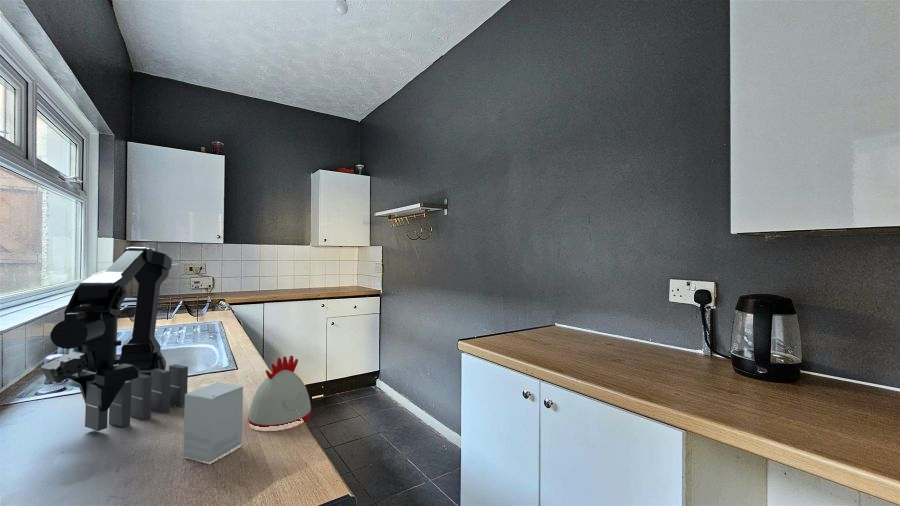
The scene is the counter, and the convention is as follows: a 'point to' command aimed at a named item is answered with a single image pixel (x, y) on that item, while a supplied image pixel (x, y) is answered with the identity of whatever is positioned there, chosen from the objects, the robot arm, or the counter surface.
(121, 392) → the domino
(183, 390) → the domino
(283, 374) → the grey chicken figure
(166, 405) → the domino
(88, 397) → the domino
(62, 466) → the counter surface
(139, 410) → the domino
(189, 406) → the supplement box
